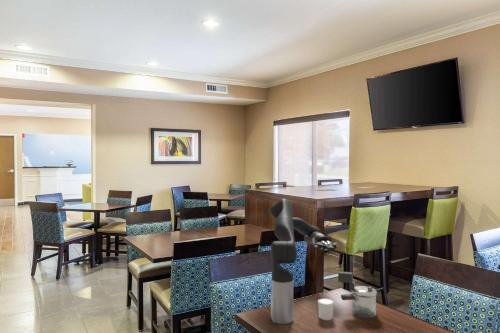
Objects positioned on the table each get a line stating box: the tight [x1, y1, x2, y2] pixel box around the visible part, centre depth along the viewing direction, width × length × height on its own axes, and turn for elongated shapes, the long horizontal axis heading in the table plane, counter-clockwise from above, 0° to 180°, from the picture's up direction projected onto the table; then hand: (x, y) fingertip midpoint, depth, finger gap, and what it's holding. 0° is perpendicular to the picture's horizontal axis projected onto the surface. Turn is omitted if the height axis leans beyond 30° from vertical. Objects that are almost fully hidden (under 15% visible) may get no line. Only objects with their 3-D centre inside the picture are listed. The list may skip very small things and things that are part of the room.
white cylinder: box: [317, 298, 335, 321], centre depth 157 cm, size 7×7×7 cm
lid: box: [337, 271, 378, 297], centre depth 162 cm, size 16×11×8 cm, turn 71°
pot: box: [340, 292, 377, 319], centre depth 161 cm, size 15×10×9 cm, turn 96°
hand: (331, 249), depth 178 cm, fingers closed
